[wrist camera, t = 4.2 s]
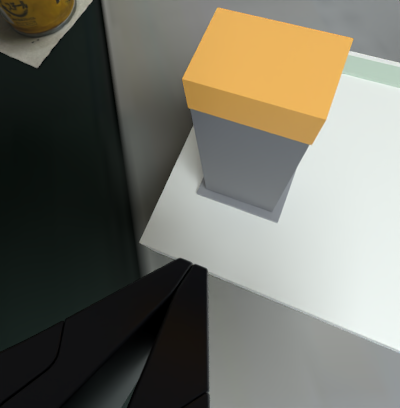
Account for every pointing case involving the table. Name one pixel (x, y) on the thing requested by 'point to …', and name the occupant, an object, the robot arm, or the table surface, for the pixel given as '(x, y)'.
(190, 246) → the box
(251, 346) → the table surface
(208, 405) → the robot arm
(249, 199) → the orange-capped grey pillar
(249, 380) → the table surface
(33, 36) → the condiment
